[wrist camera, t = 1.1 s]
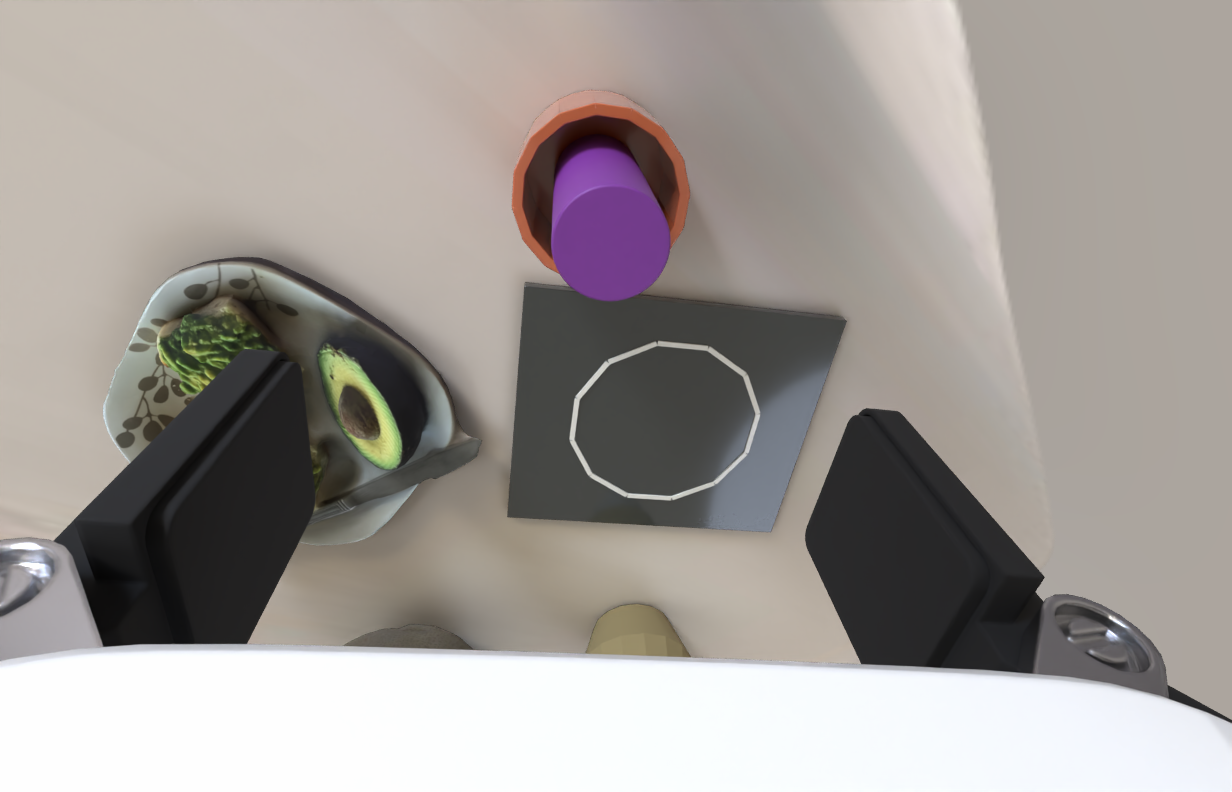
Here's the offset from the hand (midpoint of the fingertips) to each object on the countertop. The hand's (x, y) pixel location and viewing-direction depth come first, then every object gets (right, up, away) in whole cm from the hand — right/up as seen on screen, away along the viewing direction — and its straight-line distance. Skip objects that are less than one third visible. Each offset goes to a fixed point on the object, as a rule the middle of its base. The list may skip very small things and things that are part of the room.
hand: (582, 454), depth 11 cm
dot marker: (0, +12, +19) cm, 23 cm away
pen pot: (0, +12, +20) cm, 23 cm away
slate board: (+4, -1, +28) cm, 28 cm away
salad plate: (-17, +1, +26) cm, 31 cm away
